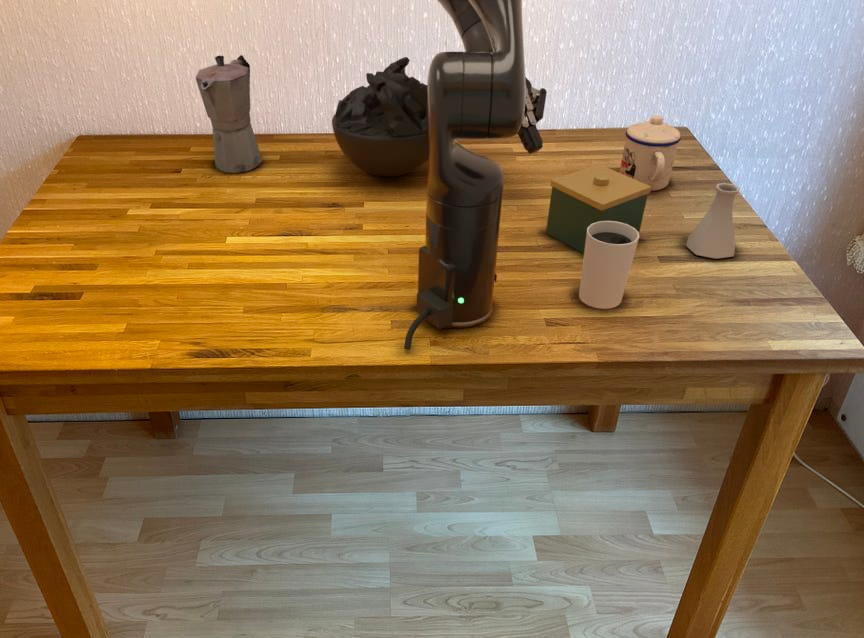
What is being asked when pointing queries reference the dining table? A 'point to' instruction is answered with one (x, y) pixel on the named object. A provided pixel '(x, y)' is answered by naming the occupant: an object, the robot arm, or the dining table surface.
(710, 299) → the dining table surface
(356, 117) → the bowl of black rocks
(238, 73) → the moka pot
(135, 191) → the dining table surface
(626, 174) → the teacup with lid
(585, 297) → the white tumbler cup
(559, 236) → the tea tin
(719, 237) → the flask
